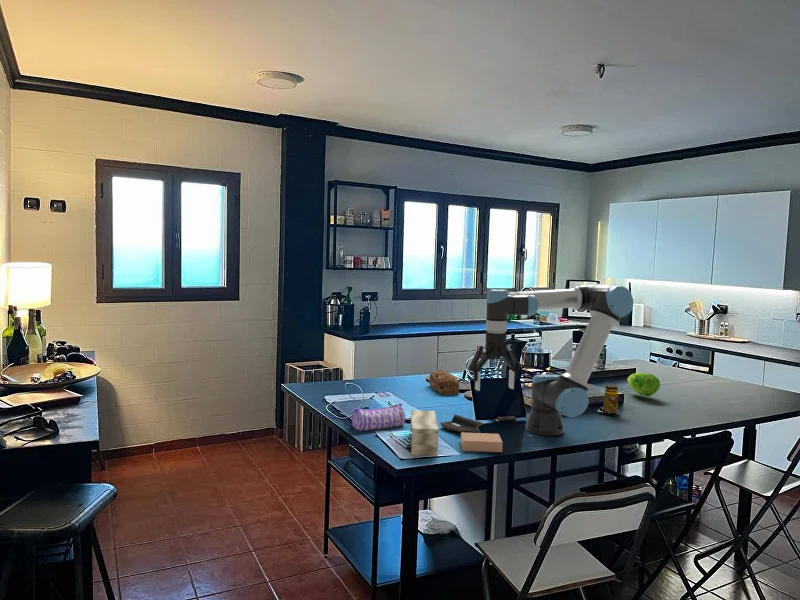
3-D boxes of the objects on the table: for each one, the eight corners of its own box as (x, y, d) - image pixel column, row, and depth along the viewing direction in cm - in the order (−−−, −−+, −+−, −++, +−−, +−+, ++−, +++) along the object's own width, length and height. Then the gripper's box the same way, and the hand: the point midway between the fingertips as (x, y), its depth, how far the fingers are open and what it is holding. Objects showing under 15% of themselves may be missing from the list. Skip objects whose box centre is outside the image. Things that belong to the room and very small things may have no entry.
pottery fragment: (437, 426, 238) (438, 415, 238) (457, 424, 246) (458, 414, 246) (464, 434, 227) (465, 423, 227) (484, 432, 234) (486, 421, 234)
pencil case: (395, 422, 245) (396, 400, 244) (408, 428, 238) (409, 405, 237) (348, 430, 233) (349, 406, 232) (360, 436, 225) (361, 411, 224)
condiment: (615, 414, 270) (617, 388, 269) (596, 411, 274) (598, 385, 273) (619, 411, 276) (621, 385, 275) (601, 408, 280) (602, 383, 279)
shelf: (433, 435, 229) (434, 411, 228) (437, 456, 205) (438, 429, 204) (410, 434, 229) (411, 410, 228) (411, 455, 205) (412, 428, 204)
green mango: (640, 389, 324) (641, 367, 323) (664, 398, 305) (666, 375, 304) (617, 389, 321) (619, 367, 320) (640, 398, 302) (642, 375, 301)
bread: (428, 388, 310) (429, 369, 309) (448, 388, 312) (449, 369, 311) (438, 397, 292) (439, 377, 291) (459, 396, 294) (460, 376, 293)
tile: (498, 444, 222) (498, 433, 222) (502, 453, 212) (502, 442, 212) (460, 442, 222) (460, 432, 222) (462, 451, 212) (463, 440, 212)
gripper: (522, 329, 225) (520, 385, 227) (460, 331, 218) (459, 388, 219) (531, 332, 218) (529, 389, 219) (468, 333, 211) (467, 393, 212)
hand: (494, 389), depth 219 cm, fingers open, 13 cm apart
